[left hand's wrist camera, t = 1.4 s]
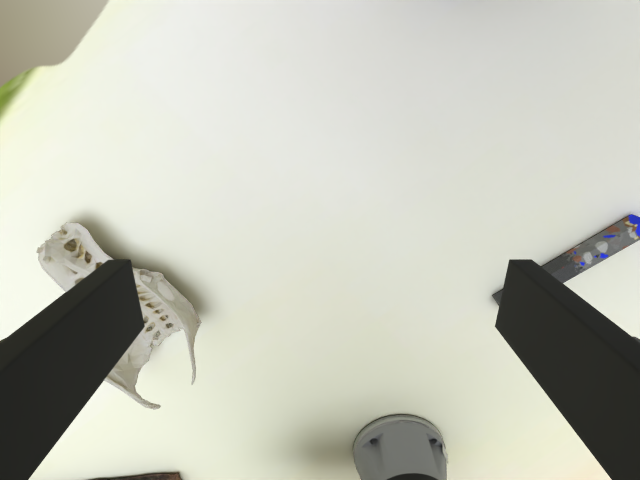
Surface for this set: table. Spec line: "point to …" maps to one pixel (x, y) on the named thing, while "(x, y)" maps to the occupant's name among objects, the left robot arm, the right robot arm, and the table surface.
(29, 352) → the left robot arm
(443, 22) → the table surface
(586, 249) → the pillar
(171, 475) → the plaque
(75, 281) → the anatomical model
